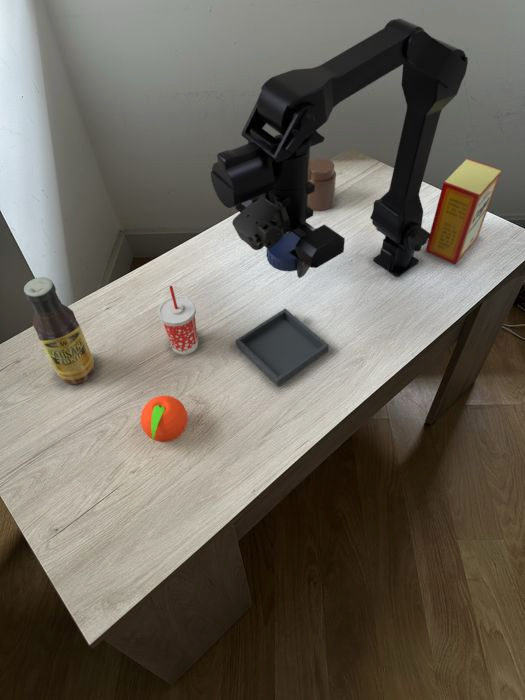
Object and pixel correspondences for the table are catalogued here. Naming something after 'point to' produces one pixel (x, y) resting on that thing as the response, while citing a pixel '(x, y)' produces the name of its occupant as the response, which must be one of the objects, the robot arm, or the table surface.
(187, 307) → the beverage cup
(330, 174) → the jar
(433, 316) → the table surface
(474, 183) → the baking soda box
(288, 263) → the lid
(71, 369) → the sauce bottle
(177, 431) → the clementine
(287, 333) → the tray
